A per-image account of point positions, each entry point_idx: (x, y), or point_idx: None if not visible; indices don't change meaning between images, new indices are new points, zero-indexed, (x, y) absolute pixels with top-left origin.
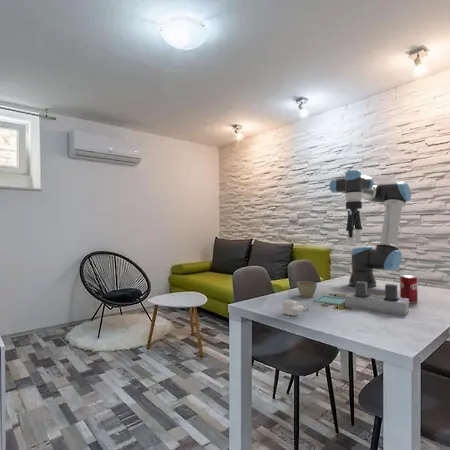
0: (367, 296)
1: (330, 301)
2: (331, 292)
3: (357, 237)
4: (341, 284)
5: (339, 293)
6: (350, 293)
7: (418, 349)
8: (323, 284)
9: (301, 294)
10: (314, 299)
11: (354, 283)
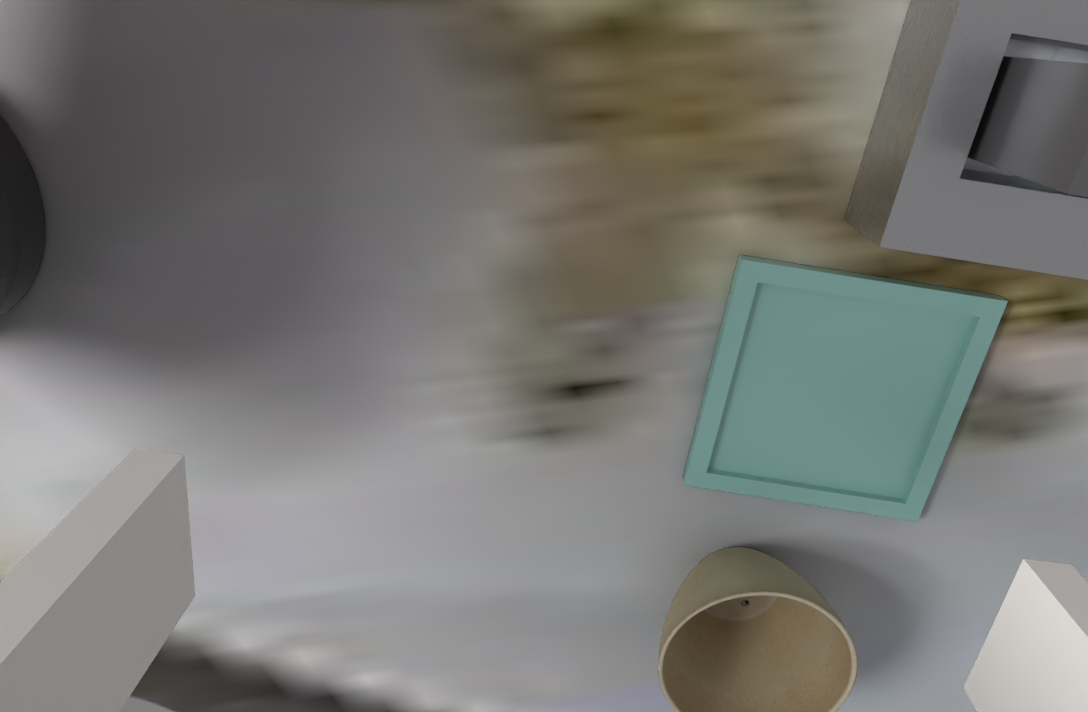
0: (1014, 57)
1: (891, 390)
2: (461, 433)
3: (105, 644)
4: (10, 397)
5: (472, 363)
6: (959, 244)
7: None
8: None
9: (782, 629)
10: (893, 514)
11: (17, 275)
